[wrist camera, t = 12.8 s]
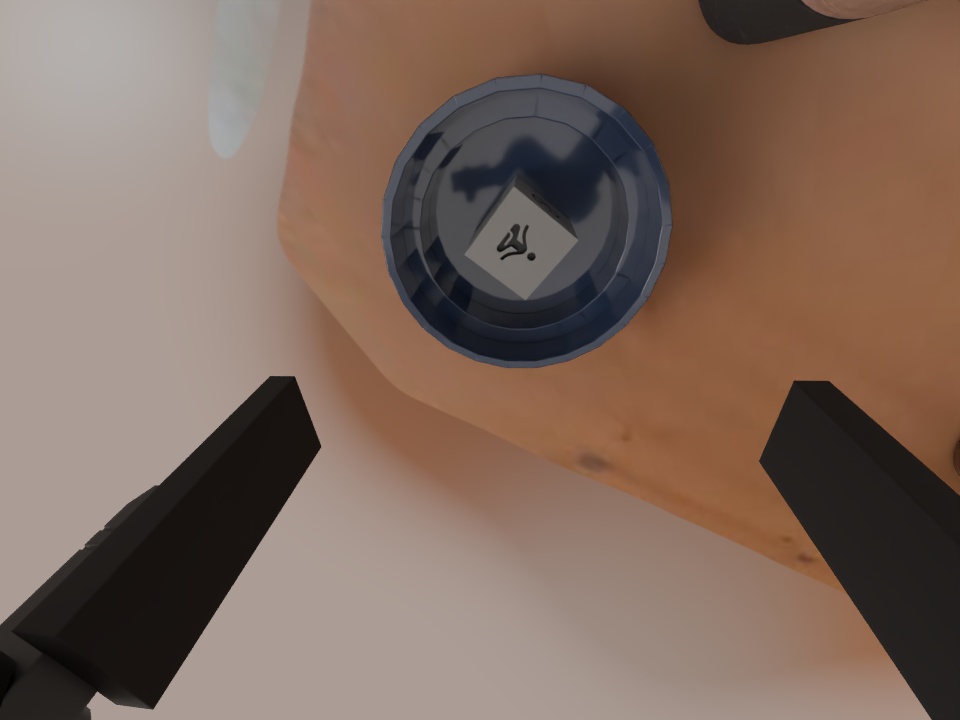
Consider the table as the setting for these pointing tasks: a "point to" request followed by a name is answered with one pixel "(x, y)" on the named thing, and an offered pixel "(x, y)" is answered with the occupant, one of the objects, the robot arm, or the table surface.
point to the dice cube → (521, 239)
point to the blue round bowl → (554, 176)
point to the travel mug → (787, 16)
